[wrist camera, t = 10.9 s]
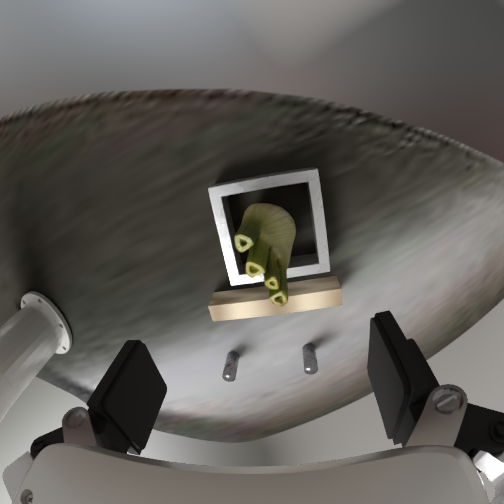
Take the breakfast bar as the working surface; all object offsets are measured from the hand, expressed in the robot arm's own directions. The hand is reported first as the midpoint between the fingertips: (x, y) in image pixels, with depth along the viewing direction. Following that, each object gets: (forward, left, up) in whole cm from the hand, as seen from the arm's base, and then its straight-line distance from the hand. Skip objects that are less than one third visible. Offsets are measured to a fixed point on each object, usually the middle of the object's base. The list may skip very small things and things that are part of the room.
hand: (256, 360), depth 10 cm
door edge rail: (-1, -8, -20) cm, 21 cm away
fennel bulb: (0, 0, -20) cm, 20 cm away
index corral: (0, 0, -20) cm, 20 cm away
